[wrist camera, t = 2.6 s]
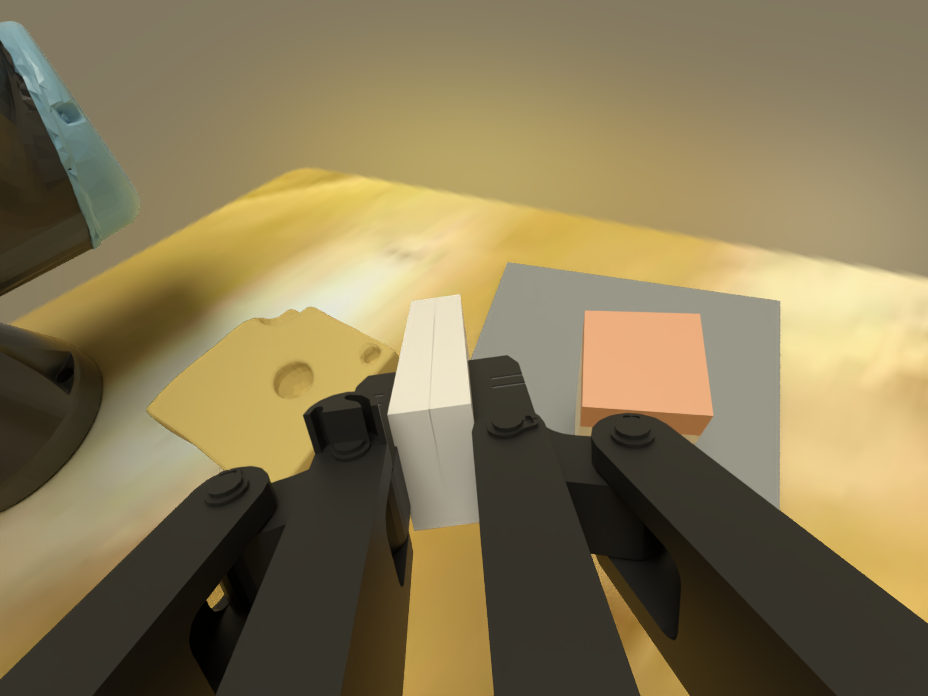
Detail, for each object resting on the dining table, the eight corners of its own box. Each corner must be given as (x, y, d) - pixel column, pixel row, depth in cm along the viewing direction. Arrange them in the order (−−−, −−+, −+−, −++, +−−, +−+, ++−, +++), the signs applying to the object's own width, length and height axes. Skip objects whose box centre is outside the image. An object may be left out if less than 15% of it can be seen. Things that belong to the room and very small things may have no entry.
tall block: (572, 486, 29) (582, 406, 20) (575, 411, 31) (584, 310, 22) (660, 495, 28) (713, 416, 19) (655, 417, 30) (700, 313, 21)
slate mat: (433, 467, 31) (431, 464, 31) (508, 267, 40) (507, 262, 40) (774, 567, 25) (779, 565, 25) (776, 306, 34) (780, 301, 34)
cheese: (335, 361, 38) (274, 276, 29) (443, 425, 33) (407, 348, 25) (237, 470, 34) (135, 408, 25) (345, 560, 29) (263, 521, 21)
